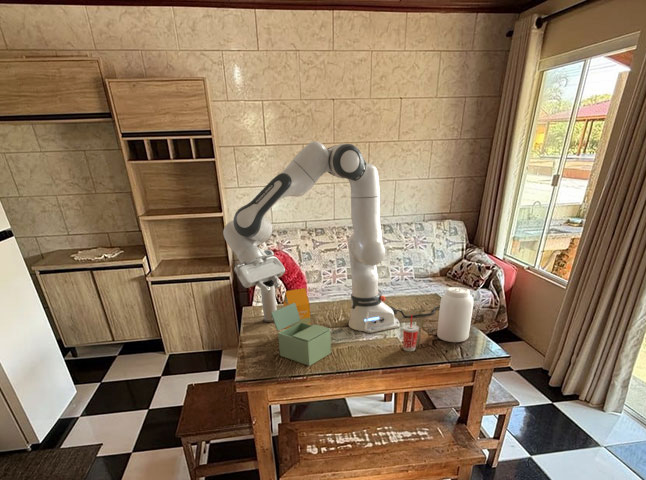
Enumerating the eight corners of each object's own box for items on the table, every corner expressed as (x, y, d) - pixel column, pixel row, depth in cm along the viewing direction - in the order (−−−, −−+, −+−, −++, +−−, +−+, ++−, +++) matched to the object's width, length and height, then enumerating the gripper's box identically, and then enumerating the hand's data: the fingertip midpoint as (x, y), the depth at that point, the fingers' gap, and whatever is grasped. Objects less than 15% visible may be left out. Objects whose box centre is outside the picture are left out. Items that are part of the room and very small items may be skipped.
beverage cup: (415, 345, 161) (417, 311, 154) (418, 351, 156) (421, 317, 149) (399, 345, 161) (401, 312, 154) (403, 352, 156) (405, 318, 149)
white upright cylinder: (444, 344, 160) (450, 295, 151) (431, 332, 171) (436, 285, 162) (473, 341, 162) (481, 292, 152) (459, 329, 173) (466, 283, 163)
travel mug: (276, 322, 187) (271, 280, 177) (262, 322, 188) (257, 279, 178) (280, 317, 192) (276, 276, 183) (266, 317, 194) (262, 275, 184)
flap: (278, 331, 152) (277, 331, 153) (300, 320, 161) (300, 320, 161) (271, 312, 150) (270, 312, 151) (294, 302, 159) (294, 302, 159)
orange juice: (286, 333, 175) (282, 288, 166) (305, 330, 178) (302, 285, 169) (292, 340, 169) (288, 293, 159) (311, 336, 172) (309, 290, 162)
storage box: (280, 355, 157) (277, 330, 152) (302, 343, 166) (300, 320, 161) (309, 365, 149) (307, 340, 144) (331, 353, 158) (330, 328, 153)
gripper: (234, 260, 145) (256, 291, 145) (275, 249, 159) (295, 278, 158) (228, 271, 150) (249, 301, 149) (268, 259, 164) (287, 287, 163)
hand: (273, 289), depth 154 cm, fingers open, 4 cm apart
